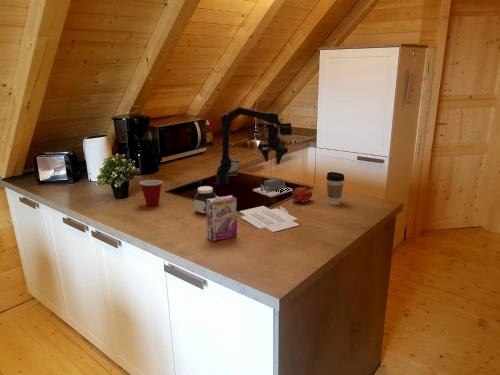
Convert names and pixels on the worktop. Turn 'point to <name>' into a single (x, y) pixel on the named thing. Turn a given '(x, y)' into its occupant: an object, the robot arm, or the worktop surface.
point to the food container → (233, 167)
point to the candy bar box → (221, 218)
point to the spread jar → (203, 199)
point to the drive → (273, 184)
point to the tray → (272, 193)
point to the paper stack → (269, 218)
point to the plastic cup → (151, 192)
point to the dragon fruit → (301, 194)
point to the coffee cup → (334, 187)
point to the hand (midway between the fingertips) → (272, 163)
